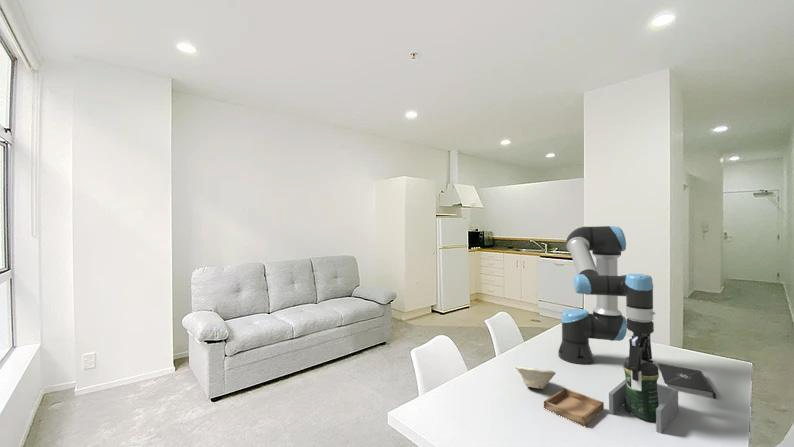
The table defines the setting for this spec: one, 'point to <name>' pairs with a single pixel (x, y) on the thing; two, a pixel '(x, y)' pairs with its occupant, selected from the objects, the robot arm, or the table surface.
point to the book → (686, 380)
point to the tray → (574, 406)
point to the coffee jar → (646, 399)
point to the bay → (663, 411)
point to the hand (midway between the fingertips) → (641, 385)
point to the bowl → (535, 376)
